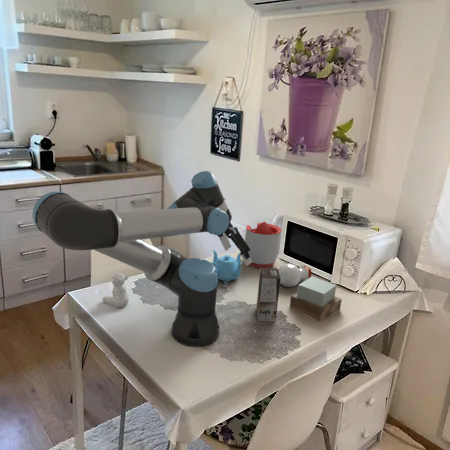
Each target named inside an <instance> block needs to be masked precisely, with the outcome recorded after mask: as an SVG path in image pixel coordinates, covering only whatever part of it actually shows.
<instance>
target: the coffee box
mask: <svg viewBox="0 0 450 450" xmlns="http://www.w3.org/2000/svg"><path fill="white" fill-rule="evenodd" d="M280 280H281V278H280V274H279V268H277V267H269V268H259V276H258V289H257V298H256V300H257V301H256V316H257V321H260V322H271V323H272V322H273V323H275V322H276V320H277V313H278V302H279V297H280V296H279V294H280V287H281V283H280Z"/></svg>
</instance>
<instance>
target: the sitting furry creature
mask: <svg viewBox="0 0 450 450" xmlns="http://www.w3.org/2000/svg"><path fill="white" fill-rule="evenodd" d="M128 279H129V276H128V275H124V274H123V273H121V272H117V273H114V276H112V277H111V280H110V281H111V283H112V285H113V288H112V296H110V295H105V296H103V297H102V302H103V303H104V304H105V305H108V306H111V307H114V308H117V309H118V308H119V309H121V308H122V309H123V308H125V307H126V306H127V305H128V304H129V301H130V298H129V293H128V292H127V289H126V286H125V285H124V284H125V282H126V280H128Z"/></svg>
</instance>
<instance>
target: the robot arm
mask: <svg viewBox="0 0 450 450" xmlns="http://www.w3.org/2000/svg"><path fill="white" fill-rule="evenodd" d="M190 182H191V185H192V187H191V188H189V190H187V191H186V192H184V194H183V195H181V196H179V197H178V198H177V199H176V200H175V201H173V202H172V204H170V205H169V206H168V207H167V208H163V209H152V210H148V209H147V210H137V211H136V210H135V211H123V212H122V211H121V212H115V211H114V210H113V209H111V208H108V209H107V208H106V209H105V208H104V209H99V208H93V207H92V206H88V205H87V204H85V203H83V202H81V201H80V200H77V199H75V198H73V197H72V196H71V195H70V194H68V193H66V192H61V191H50V192H47V193H45V194H43V195H42V196H40V197H39V198H38V199H37V201H36V202H35V203H34V206H33V208H32V220H33V222H34V224H35V226H36V228H37V229H38V230H39V232H41V233H43V234H45V236H46V237H48V238H49V239H50V240H51V241H52V242H53V244H55V245H57V246H58V247H60V248H63V249H65V250H69V251H91V250H92V251H95V252H98V253H99V254H102V255H105V256H107V257H110V258H111V259H114V260H116V261H119V262H121V263H123V264H125V265H128V266H130V267H132V268H134V269H137V270H138V271H141V272H143V274H144V276H145V277H146V279H148V280H149V281H152V282H154V283H157V284H158V285H161V286H163V287H165V288H167V289H168V290H169V291H171V292H172V293H173V294H174V295H176V296H177V297H178V298H177V299H178V300H177V302H178V303H177V312H176V314H175V318H174V320H173V322H172V324H171V336H172V338H173V339H174V340H175V341H176V342H178V343H179V344H182V345H184V346H188V347H204V346H208V345H211V344H214V343H215V342H216V341H217V340H218V338H219V336H220V329H221V328H220V324H219V321H218V317H217V314H216V305H217V294H218V292H217V291H218V282H219V279H218V278H217V269H216V267H215V266H214V265H213V264H212V263H211V261H209V260H206V259H201V258H199V257H190V258H188V257H186V256H185V255H183V254H181V253H180V252H178V250H175V249H173V248H169V247H167V246H166V245H158V246H155V245H153V244H151V243H149V242H147V241H145V240H151V239H157V238H159V239H160V238H166V237H174V236H182V235H183V236H185V235H189V234H198V233H209V234H211V235H214V236H217V237H218V238H219V240H220V241H219V242H221V245H222V246H223V249H224V251H229V250H230V249H231V248H232V244H231V242H230V240H231V241H232V243H234V245H235V246H236V248H237V249H238V250H239V251H240V252H239V253H240V255H241V258H242V261H243V263H244V264H245V266H246V267H248V266H250V265H249V264H250V263H251V262H253V261H252V259H251V257H250V254H249V251H250V250H251V249H250V248H249V246H248V245H247V243H246V239H244V237H243V236H242V234H241V233H240V232H239V229H238V228H237V226H235V227H234V226H233V224H232V222H231V220H232V219H233V217H232V216H233V215H232V213H231V211H230V209H229V207H228V205H227V202H226V197H224V195H223V193H222V190H221V189H220V186H219V183H218V181H217V180H216V178H215V175H214V174H213V173H212V172H211V171H208V170H203V171H200V172H198V173H196V174H194V175H193V176H192V178H191V181H190ZM229 239H230V240H229Z"/></svg>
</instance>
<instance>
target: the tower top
mask: <svg viewBox="0 0 450 450" xmlns="http://www.w3.org/2000/svg"><path fill="white" fill-rule="evenodd" d="M297 285H298V286H297V298H300V299H302V300H305V301H308V302H310V303H313V304H315V305H318V306H321V307H323V306H324V305H326V304H327V303H328V302H329V301H331V300H332V299H333V298H334V297H336V296H335V295H336V292H337V291H336V290H337V284H334V283H331V282H330V281H329V282H328V281H325V280H322V279H319V278H316V277H314V276H311V277H310V278H309V279H307V280H305V281H302V282H301V283H300V282H299V283H298V284H297Z"/></svg>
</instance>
